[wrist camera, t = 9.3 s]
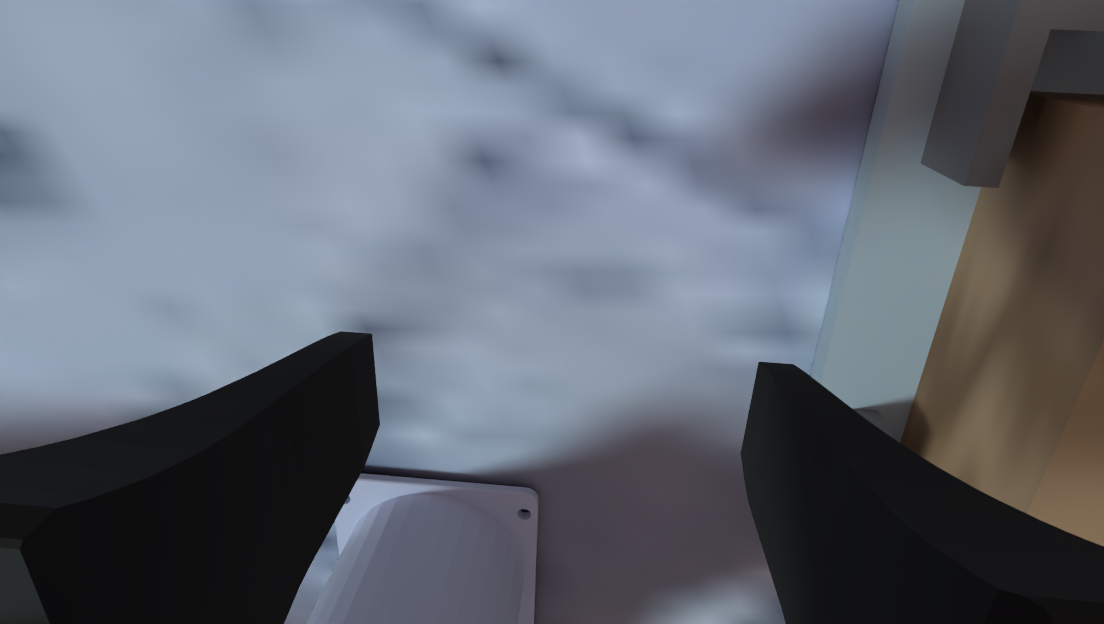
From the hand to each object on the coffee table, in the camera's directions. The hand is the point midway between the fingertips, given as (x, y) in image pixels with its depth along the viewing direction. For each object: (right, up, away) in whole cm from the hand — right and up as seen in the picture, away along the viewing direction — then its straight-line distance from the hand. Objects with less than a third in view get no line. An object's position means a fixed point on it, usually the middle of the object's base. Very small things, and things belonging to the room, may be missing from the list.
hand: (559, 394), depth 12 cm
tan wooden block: (+14, +2, +7) cm, 16 cm away
